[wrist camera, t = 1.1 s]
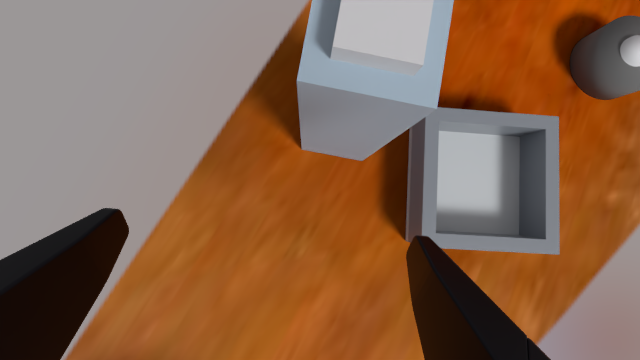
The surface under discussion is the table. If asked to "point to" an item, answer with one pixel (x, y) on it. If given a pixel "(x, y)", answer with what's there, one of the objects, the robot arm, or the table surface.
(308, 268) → the table surface
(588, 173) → the table surface
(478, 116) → the tray
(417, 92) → the tall grey rectangular prism
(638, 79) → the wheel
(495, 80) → the table surface
